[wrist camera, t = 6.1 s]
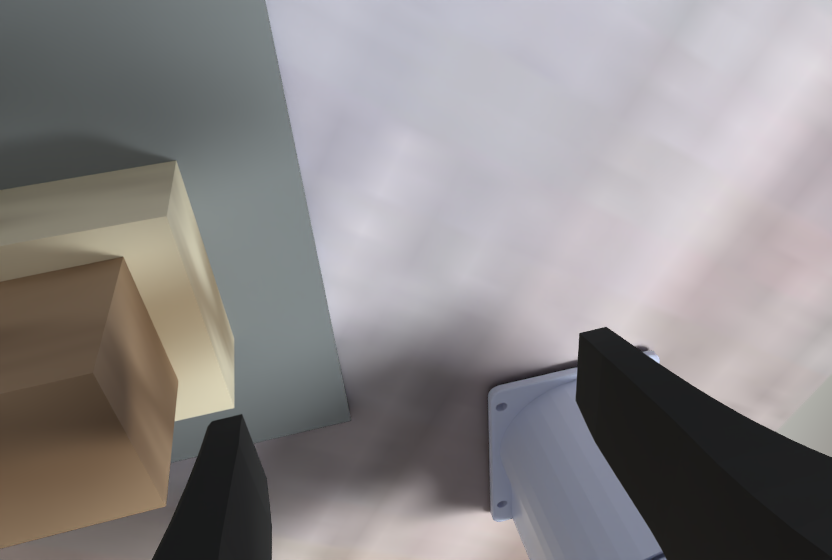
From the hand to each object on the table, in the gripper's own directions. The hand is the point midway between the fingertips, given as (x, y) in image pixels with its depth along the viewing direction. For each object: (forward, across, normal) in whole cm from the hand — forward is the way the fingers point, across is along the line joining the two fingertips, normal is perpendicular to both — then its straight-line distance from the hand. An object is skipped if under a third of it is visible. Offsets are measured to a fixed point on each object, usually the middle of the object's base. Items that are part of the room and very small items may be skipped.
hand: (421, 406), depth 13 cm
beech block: (+10, +8, +1) cm, 13 cm away
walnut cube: (+6, +9, +1) cm, 11 cm away
